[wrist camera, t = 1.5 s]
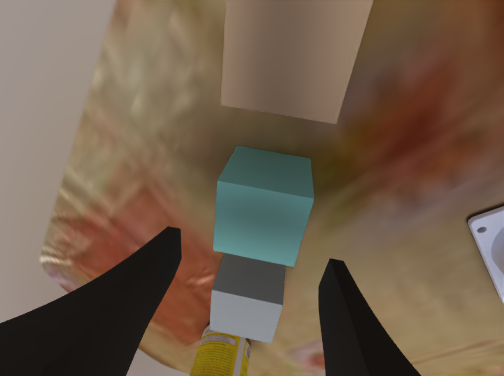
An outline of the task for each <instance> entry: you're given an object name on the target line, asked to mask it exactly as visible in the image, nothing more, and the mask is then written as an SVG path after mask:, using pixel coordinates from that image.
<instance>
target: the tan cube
mask: <svg viewBox="0 0 504 376" xmlns="http://www.w3.org/2000/svg"><path fill="white" fill-rule="evenodd" d="M372 3H373V0H226V12H225V31H224V49H223V68H222V86H221V105H223V106H229V107H235V108H241V109H247V110H253V111H259V112H265V113H271V114H277V115H283V116H289V117H296V118H302V119H308V120H314V121H320V122H326V123H332V124H336V123H337V119H338V116H339V113H340V109H341V106H342V103H343V99H344V96H345V93H346V89H347V86H348V83H349V79H350V76H351V73H352V70H353V66H354V63H355V60H356V56H357V53H358V50H359V46H360V43H361V40H362V36H363V33H364V30H365V26H366V23H367V20H368V16H369V13H370V10H371V6H372Z"/></svg>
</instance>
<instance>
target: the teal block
mask: <svg viewBox="0 0 504 376" xmlns="http://www.w3.org/2000/svg"><path fill="white" fill-rule="evenodd" d="M313 202H314V189H313V178H312V168H311V159H310V158H305V157H299V156H293V155H288V154H282V153H276V152H270V151H265V150H259V149H253V148H248V147H242V146H236V148H235V150H234V152H233V153H232V155H231V157H230V159H229V161H228V162H227V164H226V166H225V168H224V170H223V171H222V173H221V175H220V177H219V179H218V180H217V194H216V212H215V229H214V247H213V250H214V251H219V252H224V253H229V254H233V255H238V256H243V257H248V258H253V259H258V260H263V261H267V262H272V263H277V264H282V265H287V266H292V267H294V265H295V262H296V258H297V255H298V252H299V248H300V245H301V242H302V238H303V235H304V232H305V229H306V225H307V222H308V219H309V215H310V212H311V209H312V205H313Z"/></svg>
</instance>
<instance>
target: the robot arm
mask: <svg viewBox="0 0 504 376" xmlns="http://www.w3.org/2000/svg"><path fill="white" fill-rule="evenodd" d="M468 225H469V228H470V230H471V232H472V235H473V237H474V239H475V242H476V244H477V246H478V249H479V251H480V253H481V256H482V258H483V260H484V263H485V265H486V267H487V270H488V272H489V274H490V277H491V279H492V281H493V284H494V286H495V288H496V291H497V293H498V295H499V297H500V299H501V301H502V302H503V303H504V206H503V207H500V208H497V209H494V210H491V211H488V212H485V213H483V214H480V215H477V216H474V217H472V218H471V219H469V221H468ZM480 227H482V228H480ZM478 228H480V229H478ZM181 259H182V256H181V230H180V229H179V228H174V227H169V226H168V227H167V228H165V229H164V230H163V231H162V232H160V233H159V234H158V235H157V236H155V237H154V238H153V239H152V240H150V241H149V242H148V243H147V244H145V245H144V246H143V247H141V248H140V249H139V250H137V251H136V252H135V253H133V254H132V255H131V256H129V257H128V258H126V259H125V260H123V261H122V262H121V263H119V264H118V265H116V266H115V267H113V268H112V269H110V270H109V271H107V272H106V273H104V274H102V275H101V276H99V277H97V278H96V279H94V280H92V281H91V282H89V283H87V284H85V285H83V286H82V287H80V288H78V289H76V290H74V291H72V292H70V293H68V294H66V295H64V296H62V297H61V298H58V299H56V300H54V301H52V302H50V303H48V304H46V305H43V306H41V307H39V308H37V309H34V310H32V311H30V312H27V313H25V314H23V315H20V316H18V317H15V318H13V319H10V320H7V321H5V322H2V323H0V376H126V374H127V372H128V370H129V367H130V365H131V362H132V360H133V358H134V355H135V353H136V351H137V348H138V346H139V344H140V341H141V339H142V337H143V335H144V332H145V330H146V328H147V326H148V324H149V322H150V320H151V318H152V317H153V315H154V313H155V311H156V309H157V308H158V306H159V304H160V302H161V300H162V299H163V297H164V295H165V293H166V291H167V289H168V288H169V286H170V284H171V282H172V280H173V278H174V276H175V274H176V271H177V269H178V266H179V264H180V261H181ZM319 317H320V325H321V334H322V342H323V350H324V359H325V371H326V376H421V375H420V374H419V372H418V371H417V370H416V369H415V368H414V367H413V366H412V364H411V363H410V362H409V361H408V360H407V358H406V357H405V356H404V355H403V353H402V352H401V351H400V350H399V348H398V347H397V346H396V344H395V343H394V342H393V340H392V339H391V338H390V336H389V335H388V334H387V332H386V331H385V329H384V328H383V326H382V325H381V323H380V322H379V320H378V319H377V317H376V316H375V314H374V313H373V311H372V310H371V308H370V307H369V305H368V303H367V302H366V300H365V298H364V297H363V295H362V293H361V292H360V290H359V288H358V286H357V285H356V283H355V281H354V279H353V278H352V276H351V274H350V272H349V270H348V268H347V267H346V265H345V263H344V261H341V260H336V259H331V258H330V259H329V262H328V264H327V267H326V269H325V272H324V274H323V277H322V279H321V282H320V284H319Z"/></svg>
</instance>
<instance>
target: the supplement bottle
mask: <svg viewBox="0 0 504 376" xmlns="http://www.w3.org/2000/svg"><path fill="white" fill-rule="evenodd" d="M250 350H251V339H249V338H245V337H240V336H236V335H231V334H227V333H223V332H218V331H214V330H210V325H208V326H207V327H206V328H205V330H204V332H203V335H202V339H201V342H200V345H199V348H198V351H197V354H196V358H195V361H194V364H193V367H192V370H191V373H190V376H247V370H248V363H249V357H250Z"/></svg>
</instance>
